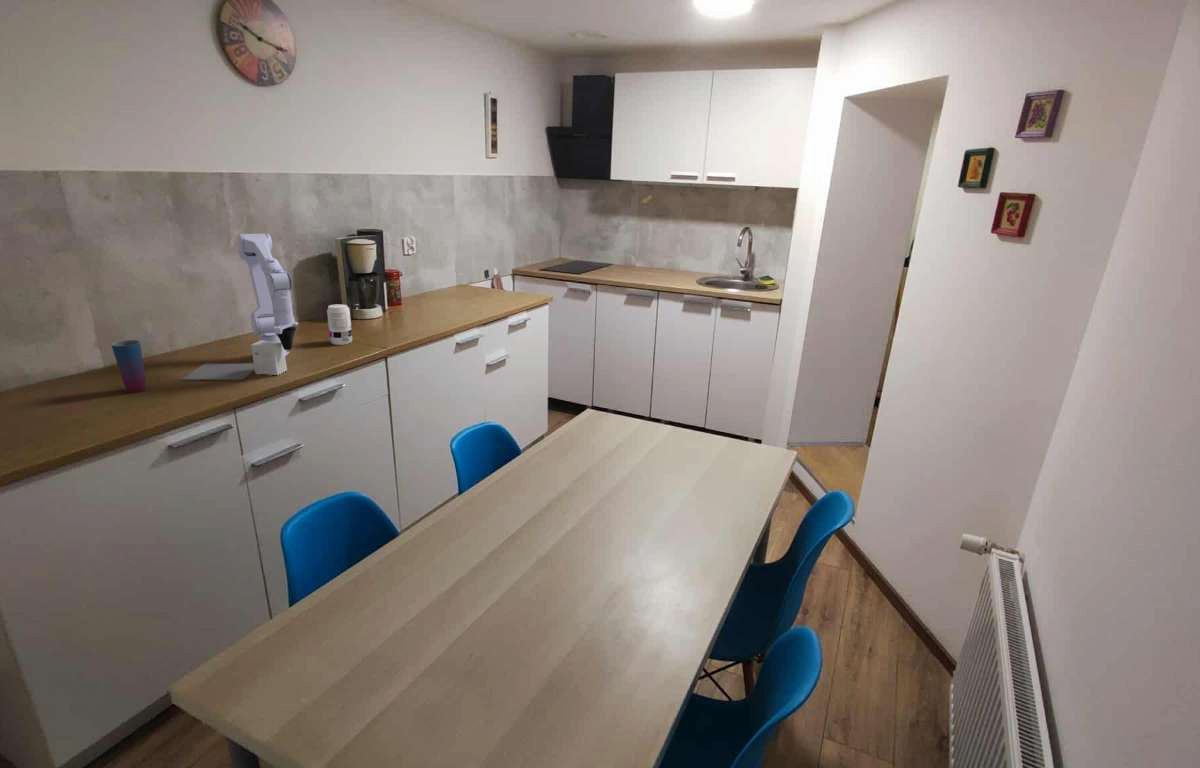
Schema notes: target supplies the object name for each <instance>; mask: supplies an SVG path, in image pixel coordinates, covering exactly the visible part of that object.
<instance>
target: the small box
mask: <svg viewBox="0 0 1200 768" xmlns="http://www.w3.org/2000/svg"><path fill="white" fill-rule="evenodd" d="M250 349H251V353H252V354H251V355H252V360H253V364H254V367H255V371H254V372H255V375H260V374H271V375H270V376H272V375H278V376H280V375H282V374H284V373H285V371H286V372H287V371H288V367H287V362H286V356H285V354H284V348H283V346H282V343H281V342H275V341H257V342H255V343H252V344H250ZM283 372H284V373H283ZM281 373H282V374H281ZM279 374H280V375H279Z"/></svg>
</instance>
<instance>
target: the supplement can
mask: <svg viewBox="0 0 1200 768" xmlns="http://www.w3.org/2000/svg"><path fill="white" fill-rule="evenodd" d="M326 314H327V324H328V333H329V334H328V335H329V341H330V343H331V344H332V345H334V346H346V345H349V343H350V344H351V343H352V342H353V333H352V320H351V312H350V307H348V305H347V304H343V303H341V304H339V303H337V304H336V303H335V304H330V305H328V308H327V309H326Z"/></svg>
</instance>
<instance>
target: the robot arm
mask: <svg viewBox="0 0 1200 768" xmlns="http://www.w3.org/2000/svg"><path fill="white" fill-rule="evenodd" d="M236 247H237V250H238V254H239V256H240V259H241V260H244V261H246V263H247V266H248V269H249V270H248V271H249V273H250V278H251V279H250V280H251V284H252V288H253V291H254V296H255V297H254V298H255V302H256V305H257V307H256V308H255V309H254V310H253V311H252V312H251V313H250V324H251V329H252V332H253V333H254V334H255V335H257V336H258V339H259V341H275V342H281V343H282V346H283V348H284V354H285V357H287V356H288V355H289V354H290V351H291V350H292V349H293V341H294V336H295V332H296V330H297V327H296V326H298V325H299V322H298V321H296V320H295V317H294V311H293V303H292V295H291V290H292V289H293V281H292V277H291V275H290V272H288V271H286V270H284V269H283V267H282V265H281V264H280V262H279V261H278V259H276V258H274V257H273V256H272V250H273V241H272V237H271V235H270V234H269V233H268V232H265V233H238V234H237V235H236ZM259 341H258V342H259ZM289 350H290V351H289Z"/></svg>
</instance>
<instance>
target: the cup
mask: <svg viewBox="0 0 1200 768" xmlns="http://www.w3.org/2000/svg"><path fill="white" fill-rule="evenodd" d="M110 346H111V348H112V352H113V355H114V357H115V360H116V361H115V362H116V363H117V368H118V371H119V373H120V376H121V379H122V383H123V385H124V389H125V392H126V393H128V394H134V393H135V394H136V393H141V392H144V391H146V390H147V389H148V387H147V383H146V382H147V381H146V374H145V367H144V360H143V353H142V352H143V351H142V345H141V341H140V340H138V339H125V340H118V341H114V342H112V343H111V345H110Z"/></svg>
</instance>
